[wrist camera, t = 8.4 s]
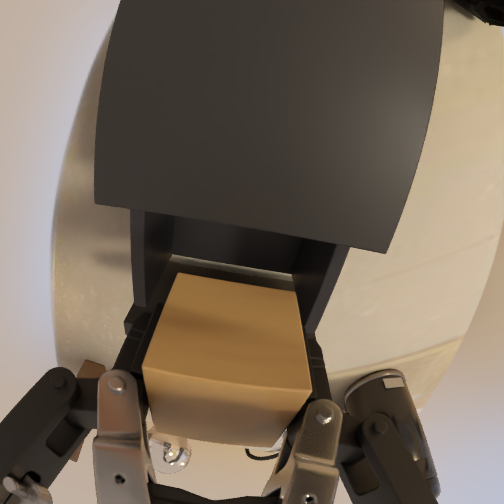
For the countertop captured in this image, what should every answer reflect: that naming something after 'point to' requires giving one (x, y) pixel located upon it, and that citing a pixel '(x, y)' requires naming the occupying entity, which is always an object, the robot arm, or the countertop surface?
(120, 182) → the dark drawer cabinet
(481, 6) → the camera
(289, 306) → the cube
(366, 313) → the countertop surface
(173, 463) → the light bulb
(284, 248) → the pull-out drawer
